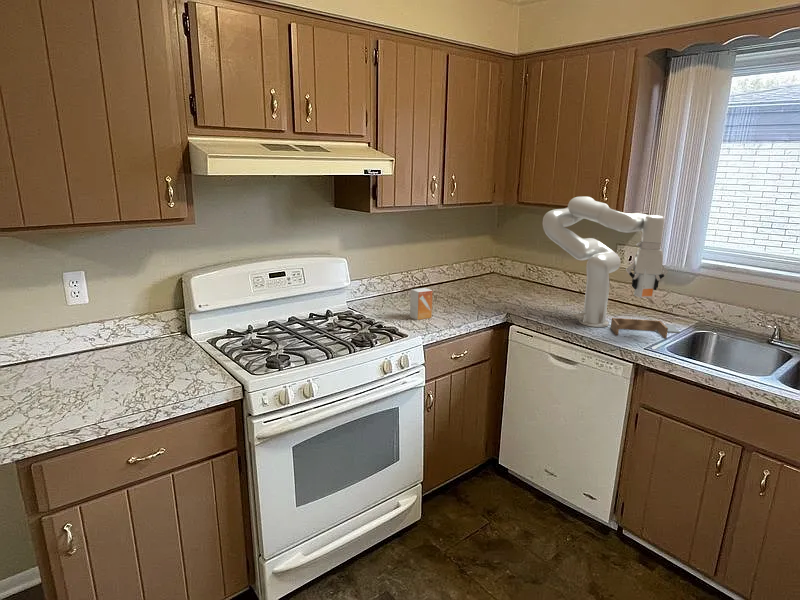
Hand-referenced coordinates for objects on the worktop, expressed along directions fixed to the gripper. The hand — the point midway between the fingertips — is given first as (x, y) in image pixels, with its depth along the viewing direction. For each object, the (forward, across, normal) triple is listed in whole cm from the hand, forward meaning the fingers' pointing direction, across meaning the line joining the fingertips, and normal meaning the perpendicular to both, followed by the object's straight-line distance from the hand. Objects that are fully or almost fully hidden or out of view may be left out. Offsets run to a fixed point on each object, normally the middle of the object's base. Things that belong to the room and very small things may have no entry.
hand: (644, 288), depth 215 cm
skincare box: (+4, 0, 0) cm, 4 cm away
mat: (+19, +13, +10) cm, 25 cm away
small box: (+20, -93, +4) cm, 95 cm away
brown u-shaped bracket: (+19, 0, +1) cm, 19 cm away
